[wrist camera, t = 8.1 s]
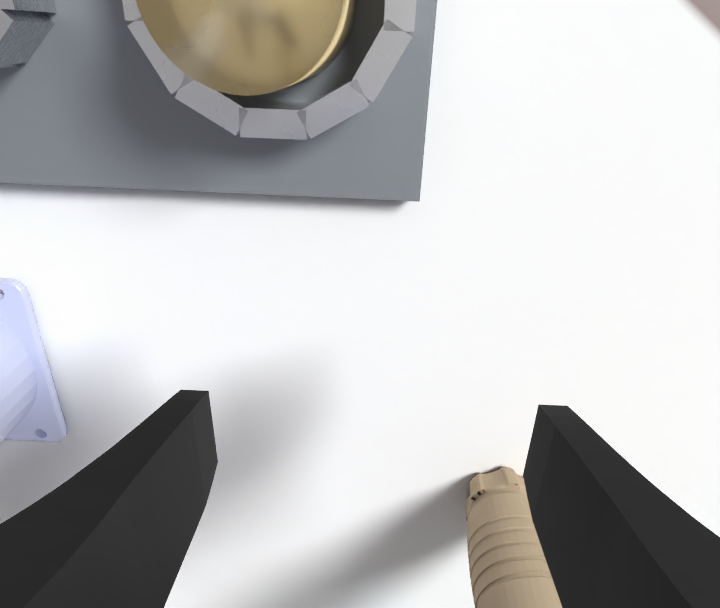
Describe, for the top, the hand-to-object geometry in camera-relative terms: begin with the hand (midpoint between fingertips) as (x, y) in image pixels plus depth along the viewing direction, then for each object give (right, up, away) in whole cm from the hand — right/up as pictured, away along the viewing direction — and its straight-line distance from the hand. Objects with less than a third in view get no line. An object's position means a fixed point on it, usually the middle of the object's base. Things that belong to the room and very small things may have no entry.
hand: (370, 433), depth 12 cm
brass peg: (-3, +12, +4) cm, 12 cm away
